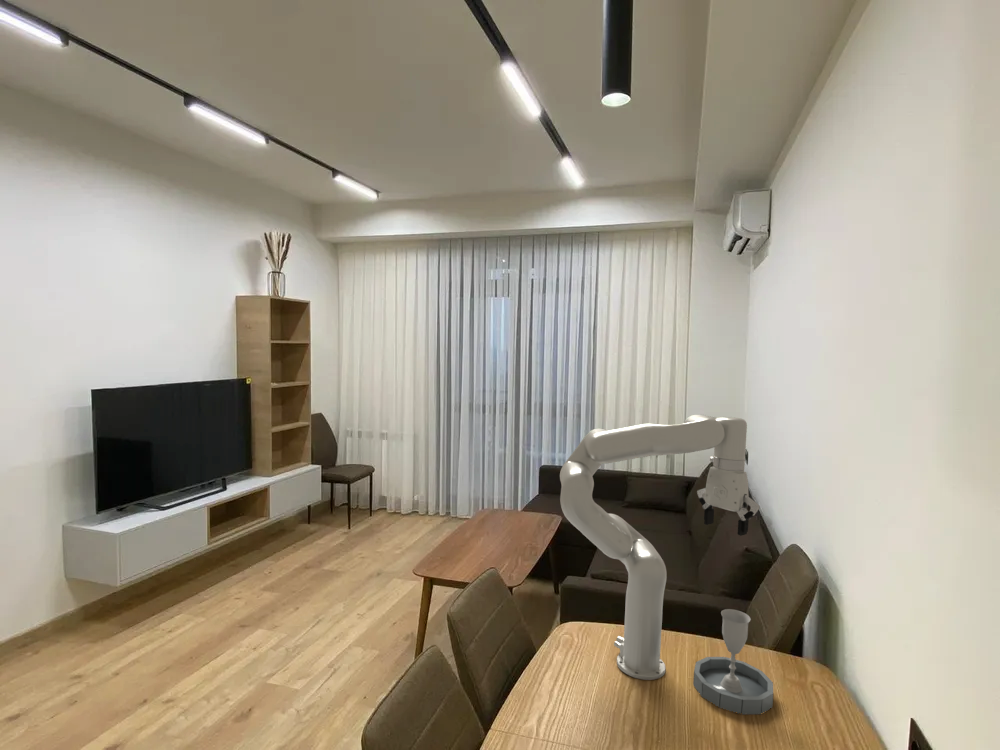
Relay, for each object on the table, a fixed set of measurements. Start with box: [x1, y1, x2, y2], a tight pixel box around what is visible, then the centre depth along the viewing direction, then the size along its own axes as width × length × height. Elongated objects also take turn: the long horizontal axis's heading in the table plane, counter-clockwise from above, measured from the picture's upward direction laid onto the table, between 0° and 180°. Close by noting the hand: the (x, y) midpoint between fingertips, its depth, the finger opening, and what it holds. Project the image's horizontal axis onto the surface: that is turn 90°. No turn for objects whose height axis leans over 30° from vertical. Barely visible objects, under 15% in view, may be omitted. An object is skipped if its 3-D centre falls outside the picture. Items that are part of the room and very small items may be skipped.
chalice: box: [720, 608, 752, 693], centre depth 136 cm, size 7×7×18 cm
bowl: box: [692, 656, 774, 715], centre depth 136 cm, size 18×18×4 cm
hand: (725, 529), depth 143 cm, fingers open, 9 cm apart
